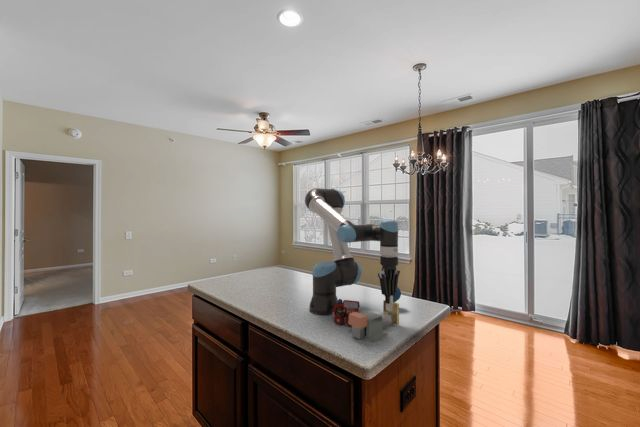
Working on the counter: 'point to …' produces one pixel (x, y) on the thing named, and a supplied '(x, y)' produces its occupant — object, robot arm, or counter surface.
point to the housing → (373, 326)
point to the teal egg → (397, 295)
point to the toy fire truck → (344, 311)
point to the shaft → (387, 320)
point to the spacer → (358, 320)
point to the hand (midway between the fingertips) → (389, 310)
